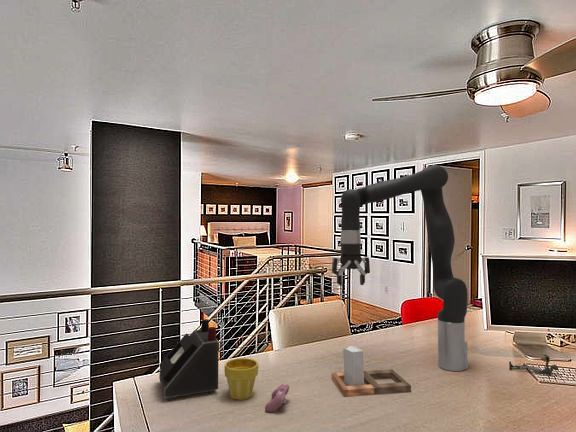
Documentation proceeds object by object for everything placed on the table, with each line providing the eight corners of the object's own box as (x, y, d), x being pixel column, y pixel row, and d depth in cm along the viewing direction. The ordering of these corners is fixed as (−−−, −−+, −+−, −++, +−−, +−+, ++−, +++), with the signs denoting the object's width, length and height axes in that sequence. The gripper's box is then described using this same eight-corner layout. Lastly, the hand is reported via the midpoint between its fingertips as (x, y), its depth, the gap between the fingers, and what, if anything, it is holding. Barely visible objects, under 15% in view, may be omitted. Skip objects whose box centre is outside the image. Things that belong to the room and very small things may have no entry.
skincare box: (364, 388, 126) (364, 350, 126) (353, 391, 124) (353, 352, 124) (354, 381, 131) (354, 345, 132) (342, 383, 130) (342, 346, 130)
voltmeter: (158, 383, 130) (159, 322, 131) (207, 375, 137) (207, 318, 137) (163, 403, 115) (164, 335, 116) (218, 393, 122) (218, 329, 122)
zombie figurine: (509, 348, 146) (557, 355, 139) (509, 367, 146) (557, 374, 139) (509, 352, 142) (559, 359, 134) (509, 371, 141) (559, 379, 134)
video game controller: (277, 419, 109) (288, 397, 108) (263, 410, 110) (274, 389, 109) (283, 403, 119) (294, 383, 118) (270, 395, 119) (280, 375, 119)
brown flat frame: (392, 375, 137) (392, 369, 137) (411, 391, 123) (411, 385, 123) (331, 378, 134) (331, 373, 134) (343, 396, 120) (343, 390, 120)
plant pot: (256, 402, 116) (256, 369, 116) (221, 402, 116) (221, 369, 116) (259, 388, 126) (259, 357, 126) (227, 388, 126) (227, 357, 126)
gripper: (335, 242, 144) (335, 287, 143) (372, 242, 146) (372, 286, 146) (329, 242, 151) (330, 284, 151) (365, 241, 153) (365, 283, 153)
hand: (351, 285), depth 148 cm, fingers open, 8 cm apart
